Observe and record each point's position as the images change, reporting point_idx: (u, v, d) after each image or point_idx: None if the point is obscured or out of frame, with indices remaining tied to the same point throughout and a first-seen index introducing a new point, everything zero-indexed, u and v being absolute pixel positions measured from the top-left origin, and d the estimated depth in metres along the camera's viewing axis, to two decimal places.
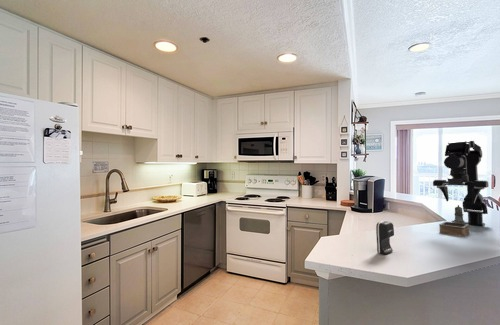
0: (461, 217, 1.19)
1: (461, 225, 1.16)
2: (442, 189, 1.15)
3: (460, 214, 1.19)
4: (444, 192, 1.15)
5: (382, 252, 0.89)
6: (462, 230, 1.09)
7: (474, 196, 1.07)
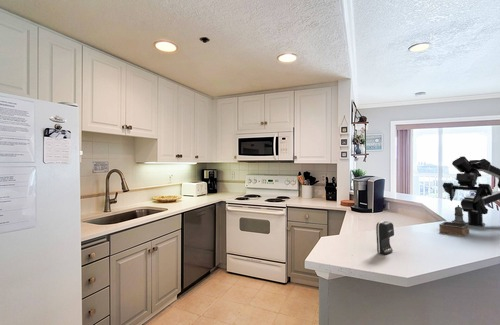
0: (461, 217, 1.19)
1: (461, 225, 1.16)
2: (449, 189, 1.29)
3: (460, 214, 1.19)
4: (450, 192, 1.28)
5: (382, 252, 0.89)
6: (462, 230, 1.09)
7: (476, 195, 1.18)
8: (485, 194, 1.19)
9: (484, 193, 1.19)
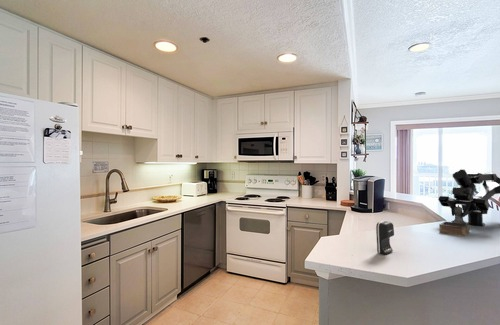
0: (461, 217, 1.19)
1: (461, 225, 1.16)
2: (451, 203, 1.24)
3: (460, 214, 1.19)
4: (452, 206, 1.23)
5: (382, 252, 0.89)
6: (462, 230, 1.09)
7: (465, 210, 1.18)
8: (474, 209, 1.18)
9: (473, 208, 1.18)
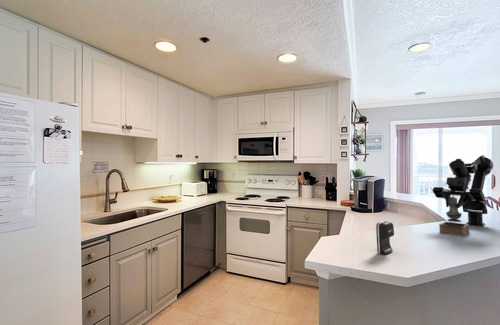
0: (456, 208, 1.14)
1: (461, 225, 1.16)
2: (445, 194, 1.19)
3: (454, 205, 1.14)
4: (446, 197, 1.18)
5: (382, 252, 0.89)
6: (462, 230, 1.09)
7: (460, 201, 1.13)
8: (469, 199, 1.13)
9: (468, 198, 1.13)
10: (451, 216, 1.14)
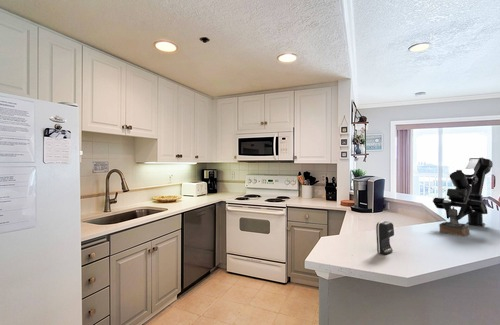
0: (456, 220, 1.13)
1: None
2: (446, 205, 1.18)
3: (455, 216, 1.14)
4: (447, 209, 1.18)
5: (382, 252, 0.89)
6: (462, 230, 1.09)
7: (460, 212, 1.13)
8: (470, 211, 1.13)
9: (469, 210, 1.13)
10: None
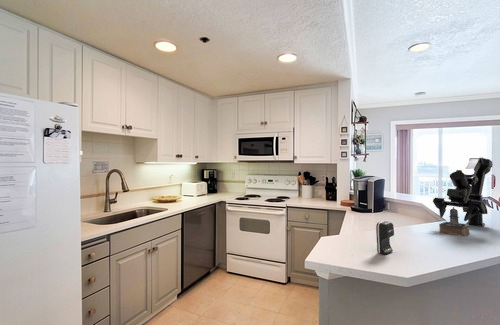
0: (456, 220, 1.14)
1: None
2: (440, 205, 1.21)
3: (455, 216, 1.14)
4: (440, 208, 1.20)
5: (382, 252, 0.89)
6: (462, 230, 1.09)
7: (467, 213, 1.10)
8: (477, 212, 1.11)
9: (476, 211, 1.11)
10: None
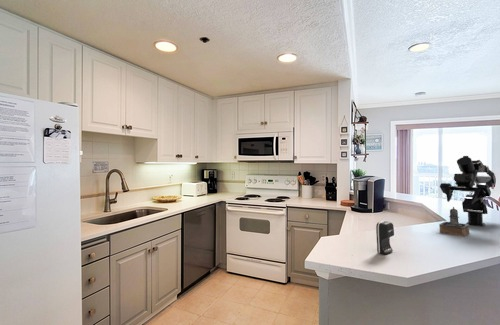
0: (456, 220, 1.14)
1: None
2: (446, 190, 1.25)
3: (455, 216, 1.14)
4: (447, 193, 1.24)
5: (382, 252, 0.89)
6: (462, 230, 1.09)
7: (474, 196, 1.15)
8: (483, 195, 1.15)
9: (482, 194, 1.15)
10: None
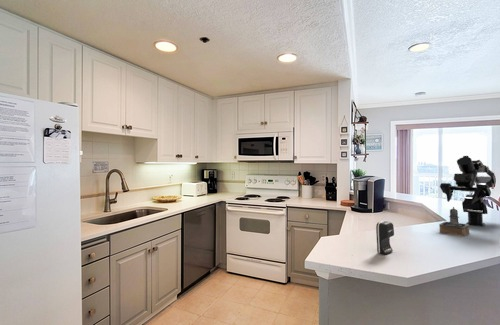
0: (456, 220, 1.14)
1: None
2: (446, 189, 1.25)
3: (455, 216, 1.14)
4: (447, 192, 1.24)
5: (382, 252, 0.89)
6: (462, 230, 1.09)
7: (474, 196, 1.15)
8: (483, 195, 1.15)
9: (482, 194, 1.15)
10: None
